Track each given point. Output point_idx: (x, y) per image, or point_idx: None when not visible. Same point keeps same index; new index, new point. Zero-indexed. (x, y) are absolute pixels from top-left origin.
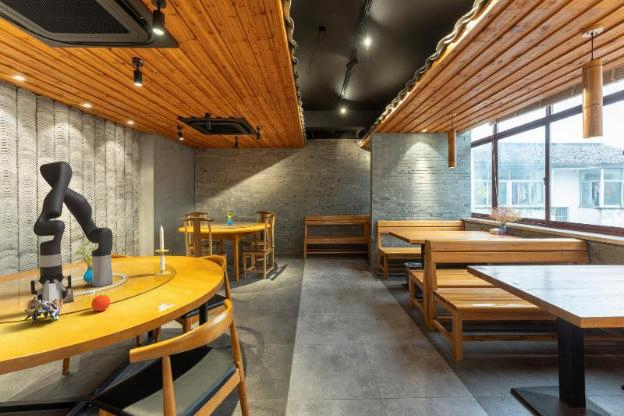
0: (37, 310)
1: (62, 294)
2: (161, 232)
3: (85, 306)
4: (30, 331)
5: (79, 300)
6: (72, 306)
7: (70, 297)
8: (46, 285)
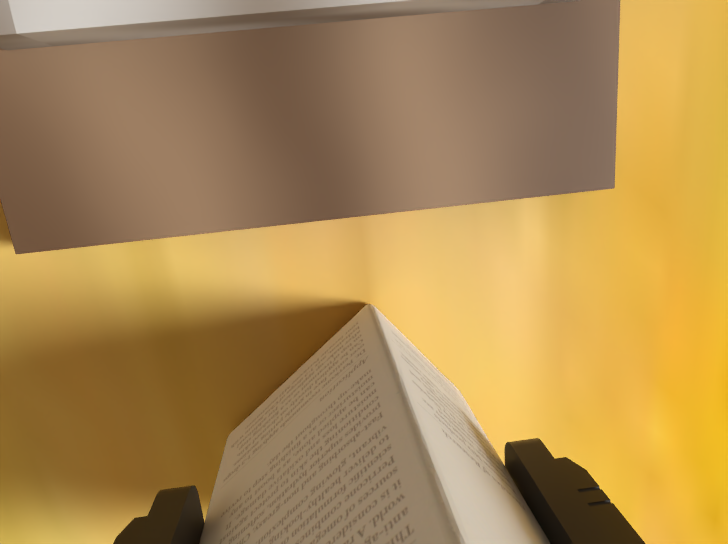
0: None
1: (539, 532)
2: None
3: (692, 514)
4: None
5: (663, 157)
6: (565, 427)
7: (572, 2)
8: None
